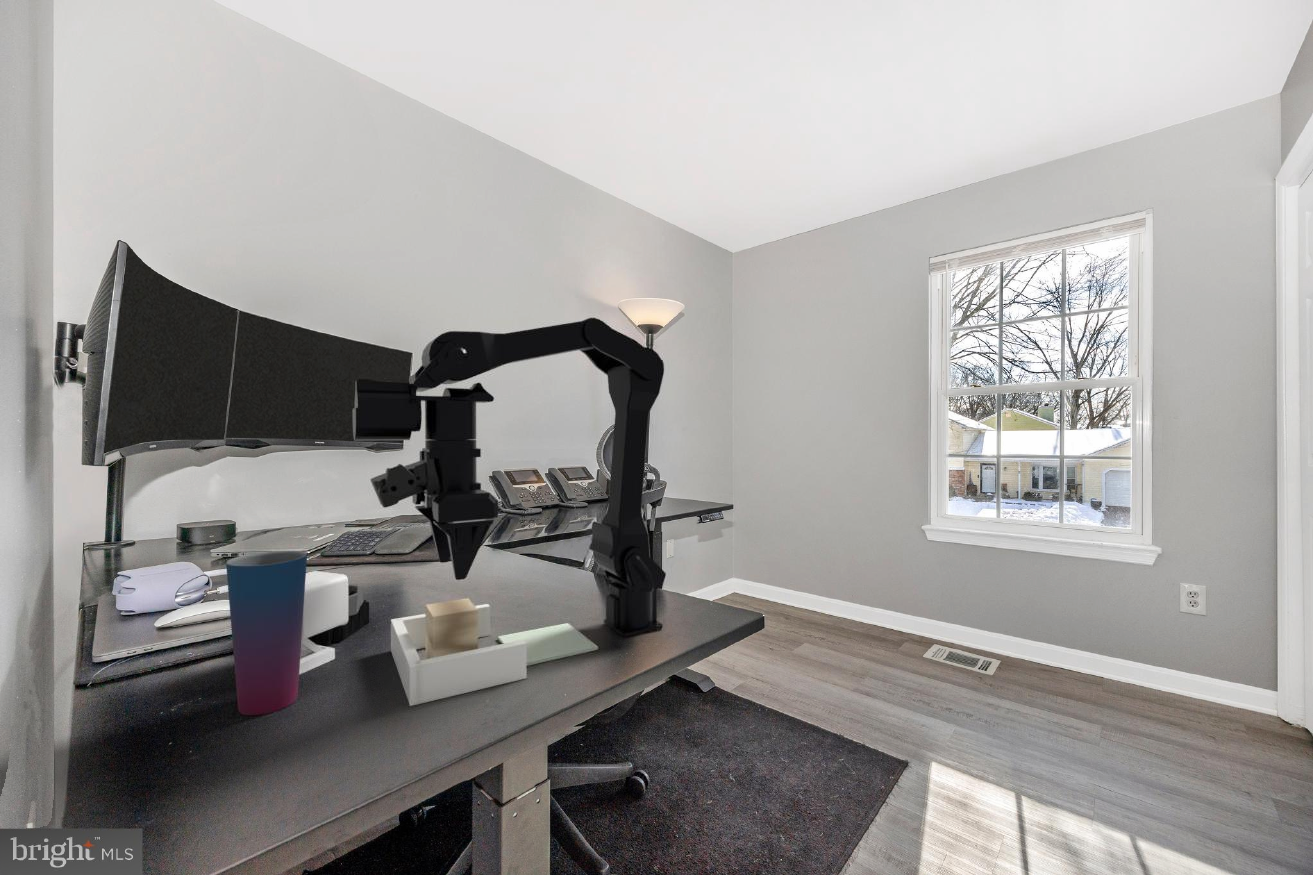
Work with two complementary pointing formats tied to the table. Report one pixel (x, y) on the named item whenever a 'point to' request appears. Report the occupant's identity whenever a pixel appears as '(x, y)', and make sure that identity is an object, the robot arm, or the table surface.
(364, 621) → the black and grey container
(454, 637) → the maple block
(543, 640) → the sage mat
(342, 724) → the table surface
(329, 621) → the security camera
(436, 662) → the cubby
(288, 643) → the cup
